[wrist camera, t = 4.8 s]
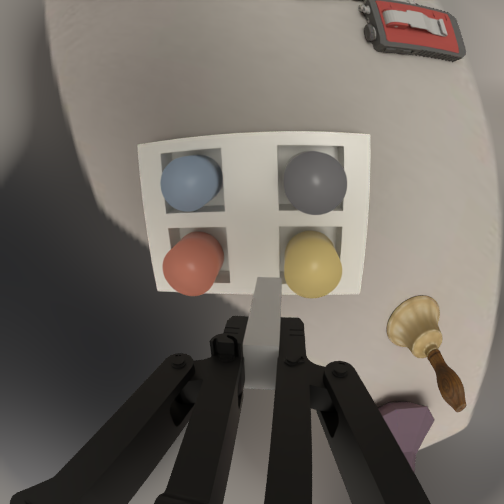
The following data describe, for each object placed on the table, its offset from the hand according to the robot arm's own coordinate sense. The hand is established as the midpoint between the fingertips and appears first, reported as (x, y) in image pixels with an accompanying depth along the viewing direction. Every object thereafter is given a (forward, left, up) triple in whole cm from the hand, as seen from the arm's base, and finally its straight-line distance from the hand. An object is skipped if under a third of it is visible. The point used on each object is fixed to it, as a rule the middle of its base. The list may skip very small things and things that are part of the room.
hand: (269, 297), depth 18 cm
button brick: (+1, -8, -11) cm, 13 cm away
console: (-2, -2, -14) cm, 15 cm away
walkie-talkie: (-25, +13, -15) cm, 32 cm away
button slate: (-6, -8, -13) cm, 16 cm away
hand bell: (+13, +19, -15) cm, 27 cm away
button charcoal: (-6, +3, -11) cm, 13 cm away
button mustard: (+1, +3, -11) cm, 11 cm away
